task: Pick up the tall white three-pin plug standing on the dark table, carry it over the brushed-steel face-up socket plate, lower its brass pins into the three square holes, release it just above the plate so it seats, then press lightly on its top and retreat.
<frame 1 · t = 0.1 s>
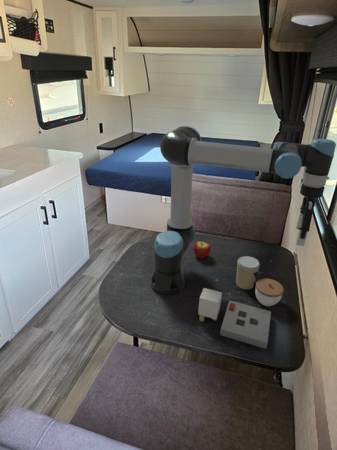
hand: (299, 236, 115), 28 cm above the table, fingers open, 13 cm apart
socket: (245, 325, 111), on the table
apple: (201, 256, 152), on the table
lidded jar: (266, 301, 123), on the table
plug: (208, 317, 114), on the table
coffee cup: (244, 284, 133), on the table
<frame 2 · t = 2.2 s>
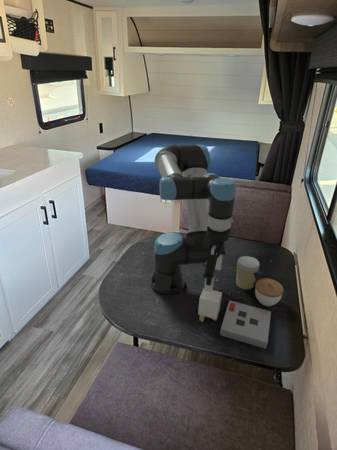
hand: (212, 279, 106), 18 cm above the table, fingers open, 13 cm apart
nothing on the table moved.
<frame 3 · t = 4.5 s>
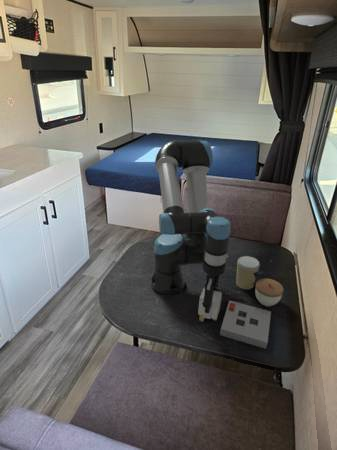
hand: (209, 311, 113), 3 cm above the table, fingers closed on plug, 6 cm apart
plug: (208, 317, 114), on the table, touching gripper
everything else where it was.
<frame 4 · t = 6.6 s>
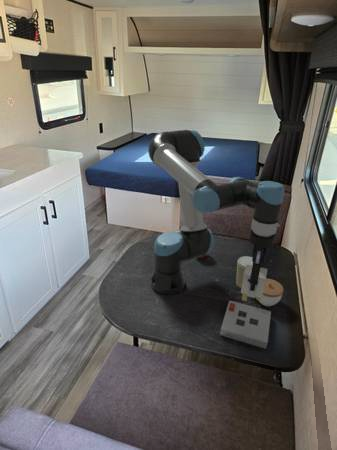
hand: (252, 290, 103), 17 cm above the table, fingers closed on plug, 6 cm apart
plug: (251, 296, 104), point 14 cm above the table, touching gripper
everything else where it was.
when the fingers open (4 cm above the table, at t = 9.1 s): plug drops 1 cm, resting on socket.
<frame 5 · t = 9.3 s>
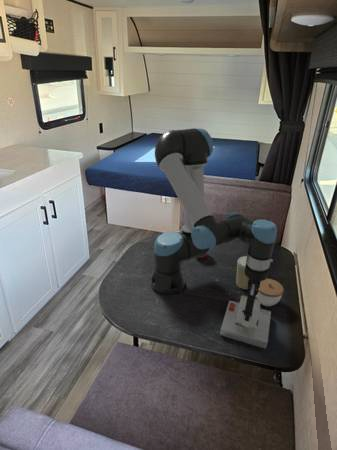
hand: (247, 316, 109), 5 cm above the table, fingers open, 9 cm apart
plug: (245, 325, 111), resting on socket
everything else where it was.
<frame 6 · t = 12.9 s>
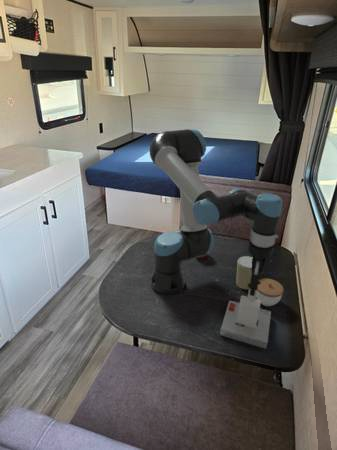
hand: (251, 300, 105), 13 cm above the table, fingers closed
nothing on the table moved.
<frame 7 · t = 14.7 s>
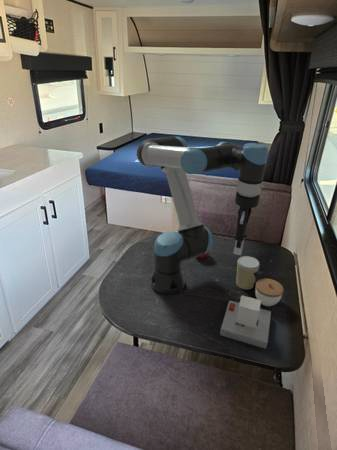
hand: (237, 253, 108), 26 cm above the table, fingers closed
nothing on the table moved.
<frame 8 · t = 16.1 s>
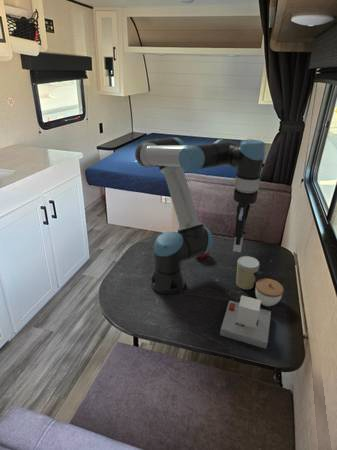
hand: (236, 250, 108), 26 cm above the table, fingers closed
nothing on the table moved.
at the end: plug 0.0 cm off-centre on the socket, point 0.2 cm above the socket's base; plug tilted 0°; the gripper is holding nothing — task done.
